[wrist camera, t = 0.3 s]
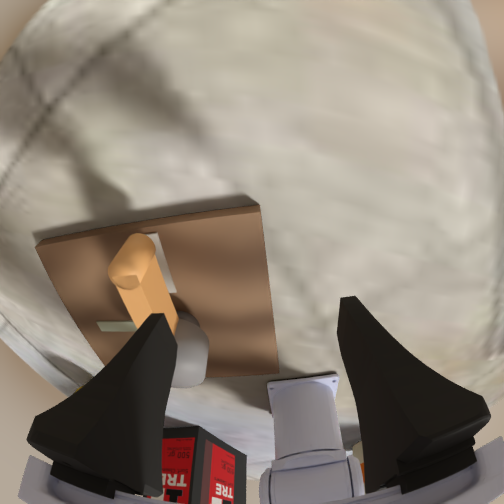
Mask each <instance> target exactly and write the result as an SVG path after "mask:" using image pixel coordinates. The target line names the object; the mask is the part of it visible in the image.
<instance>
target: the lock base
mask: <svg viewBox="0 0 504 504" xmlns="http://www.w3.org/2000/svg"><path fill="white" fill-rule="evenodd" d="M135 233H141V234H145V235H147V236H148V237H150V238H151V239H152V241H153V242H154V244H155V247H156V252H155V256H156V259H157V262H158V264H159V267H160V270H161V273H162V276H163V279H164V281H165V284H166V287H167V289H168V292H169V295H170V297H171V300H172V303H173V305H174V308H175V310H176V313H177V315H178V318H179V319H183V320H186V321H189V322H191V323H193V324H195V325H197V326H198V327H199V328H201V329H202V330H203V331H204V332H205V333H206V335H207V337H208V339H209V351H208V358H207V366H206V373H205V377H232V376H250V375H264V374H276V373H279V363H278V354H277V345H276V336H275V327H274V318H273V310H272V301H271V292H270V284H269V275H268V267H267V259H266V251H265V242H264V234H263V226H262V218H261V210H260V205H253V206H244V207H236V208H228V209H220V210H213V211H206V212H198V213H191V214H184V215H178V216H171V217H164V218H158V219H152V220H146V221H139V222H133V223H128V224H122V225H116V226H111V227H105V228H100V229H94V230H89V231H84V232H79V233H74V234H69V235H64V236H59V237H54V238H49V239H45V240H42V241H41V242H40V243H39V244H37V245H36V246H35V249H36V251H37V253H38V255H39V257H40V259H41V261H42V263H43V266H44V268H45V270H46V272H47V274H48V276H49V277H50V279H51V281H52V283H53V285H54V287H55V289H56V291H57V292H58V294H59V296H60V298H61V300H62V301H63V303H64V305H65V307H66V308H67V310H68V312H69V313H70V315H71V317H72V318H73V320H74V321H75V323H76V325H77V326H78V328H79V329H80V331H81V332H82V334H83V335H84V337H85V338H86V340H87V341H88V343H89V344H90V346H91V347H92V349H93V350H94V352H95V353H96V354H97V356H98V357H99V359H100V360H101V361H102V363H103V364H104V365H105V366H106V365H107V364H108V363H109V362H110V361H111V360H112V358H113V357H114V356H115V355H116V354H117V353H118V352H119V351H120V350H121V349H122V347H123V346H124V345H125V344H126V343H127V342H128V340H129V339H130V338H131V337H132V336H133V334H134V333H135V332H136V331H137V327H136V325H135V323H134V322H133V320H132V318H131V316H130V314H129V312H128V310H127V308H126V306H125V304H124V302H123V300H122V298H121V295H120V293H119V291H118V289H117V287H116V285H115V284H114V283H113V282H112V281H111V280H110V278H109V276H108V267H109V265H110V263H111V262H112V260H113V259H114V258H115V256H116V255H117V253H118V252H119V250H120V249H121V247H122V246H123V245H124V243H125V242H126V240H127V239H128V238H129V236H131V235H132V234H135Z"/></svg>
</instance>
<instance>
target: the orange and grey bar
mask: <svg viewBox="0 0 504 504" xmlns="http://www.w3.org/2000/svg"><path fill="white" fill-rule="evenodd" d="M155 252H156V247H155V244H154V242H153V241H152V239H151V238H150V237H148V236H147V235H145V234H141V233H135V234H132V235H131V236H129V238H128V239H127V240H126V242H125V243H124V245H123V246H122V247H121V249H120V250H119V252H118V253H117V255H116V256H115V258H114V259H113V260H112V262H111V263H110V265H109V267H108V276H109V278H110V280H111V281H112V282H113V283H114V284H115V285H116V287H117V289H118V291H119V293H120V295H121V298H122V300H123V302H124V304H125V306H126V308H127V310H128V312H129V314H130V316H131V318H132V320H133V322H134V323H135V325H136V327H137V329H138V328H139V327H140V326H141V325H142V323H143V322H144V321H145V320H146V319H147V317H148V316H149V315H150V314H151V313H164V314H165V316H166V319H167V321H168V324H169V326H170V328H171V331H172V333H173V335H174V337H175V340H176V342H177V344H178V349H177V359H176V367H175V371H174V376H173V380H172V384H171V387H173V388H191V387H195V386H197V385H199V384H201V383H202V382H203V380H204V379H205V373H206V366H207V358H208V351H209V339H208V337H207V335H206V333H205V332H204V331H203V330H202V329H201V328H199V327H198V326H197V325H195V324H193V323H191V322H189V321H186V320H183V319H179V318H178V315H177V313H176V310H175V308H174V305H173V303H172V300H171V297H170V295H169V292H168V289H167V287H166V284H165V281H164V279H163V276H162V273H161V270H160V267H159V264H158V262H157V259H156V256H155Z"/></svg>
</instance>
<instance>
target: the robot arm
mask: <svg viewBox="0 0 504 504" xmlns="http://www.w3.org/2000/svg"><path fill="white" fill-rule="evenodd" d="M337 336H338V342H339V347H340V352H341V356H342V359H343V362H344V366H345V369H346V372H347V375H348V378H349V382H350V385H351V388H352V391H353V395H354V398H355V402H356V406H357V412H358V418H359V425H360V432H361V440H362V449H363V460H364V477H365V493H366V494H364V482H363V476H362V470H361V466H360V462H359V460H358V458H356V457H354V456H353V455H349V456H347V457H346V451H345V449H343V444H342V438H341V432H340V426H339V421H338V415H337V410H336V405H335V396H336V391H337V386H338V381H339V375H338V374H331V375H324V376H317V377H310V378H302V379H293V380H284V381H273V382H268V383H267V389H268V395H269V400H270V406H271V411H272V417H273V418H274V435H275V460H274V461H272V468H267V469H266V470H265V472H264V473H263V474H262V475H261V478H260V485H259V497H260V504H489V503H490V502H492V501H493V500H495V499H496V498H498V497H499V496H500V495H502V494H503V493H504V441H503V438H502V437H501V436H499V437H498V438H496V439H494V440H493V441H491V442H489V443H487V444H486V445H484V446H482V447H480V448H479V449H477V450H476V451H474V450H473V447H472V446H473V445H474V444H475V439H474V437H473V436H474V435H475V434H476V433H477V432H479V431H480V429H482V428H483V427H484V426H485V425H486V424H487V423H488V422H489V420H490V418H491V414H490V412H489V409H488V407H487V404H486V402H485V400H484V398H483V397H482V396H481V395H478V394H476V393H474V392H472V391H469V390H467V389H465V388H463V387H461V386H459V385H457V384H455V383H453V382H452V381H450V380H448V379H446V378H445V377H443V376H441V375H440V374H438V373H437V372H435V371H434V370H432V369H431V368H429V367H428V366H426V365H425V364H424V363H422V362H421V361H420V360H418V359H417V358H416V357H415V356H414V355H412V354H411V353H410V352H409V351H408V350H406V349H405V348H404V347H403V346H402V345H401V344H400V343H399V342H398V341H397V340H396V339H395V338H394V337H393V336H392V335H391V334H389V332H388V331H387V330H386V329H385V328H384V327H383V326H382V325H381V324H380V323H379V322H378V321H377V320H376V319H375V318H374V317H373V315H372V314H371V313H370V312H369V311H368V310H367V309H366V308H365V306H364V305H363V304H362V303H361V302H360V301H359V299H358V298H357V297H356V296H350V297H343V298H340V308H339V318H338V327H337ZM177 349H178V344H177V342H176V340H175V337H174V335H173V333H172V331H171V328H170V326H169V324H168V321H167V319H166V316H165V314H164V313H151V314H150V315H149V316H148V317H147V319H146V320H145V321H144V322H143V323H142V325H141V326H140V327H139V328H138V329H137V331H136V332H135V333H134V334H133V336H132V337H131V338H130V339H129V340H128V342H127V343H126V344H125V345H124V346H123V347H122V349H121V350H120V351H119V352H118V353H117V354H116V355H115V356H114V357H113V358H112V360H111V361H110V362H109V363H108V364H107V365H106V366H105V367H104V368H103V369H102V370H101V371H100V372H99V373H98V374H97V375H96V376H95V377H93V378H92V379H91V380H90V381H89V382H88V383H87V384H85V385H84V386H83V387H82V388H80V389H79V390H78V391H76V392H75V393H74V394H73V395H71V396H70V397H68V398H67V399H65V400H64V401H62V402H61V403H59V404H58V405H56V406H55V407H53V408H51V409H49V410H47V411H45V412H43V413H41V414H39V415H37V416H35V418H34V421H33V424H32V426H31V428H30V431H29V434H28V437H27V441H28V443H29V444H30V445H31V446H32V447H34V448H35V449H37V450H38V451H40V452H41V453H42V454H44V455H45V456H47V457H48V458H50V459H52V460H53V465H50V464H48V463H46V462H44V461H42V460H40V459H38V458H36V457H34V456H31V455H30V456H29V459H28V462H27V465H26V468H25V471H24V475H23V478H22V482H21V486H20V490H19V493H18V497H19V498H20V499H22V500H23V501H25V502H26V503H28V504H180V503H173V502H167V501H161V500H155V499H150V498H145V497H141V496H136V495H135V494H137V495H147V496H152V497H159V496H161V495H162V494H163V482H162V438H163V426H164V416H165V410H166V406H167V401H168V397H169V393H170V388H171V384H172V380H173V376H174V371H175V367H176V359H177Z"/></svg>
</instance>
